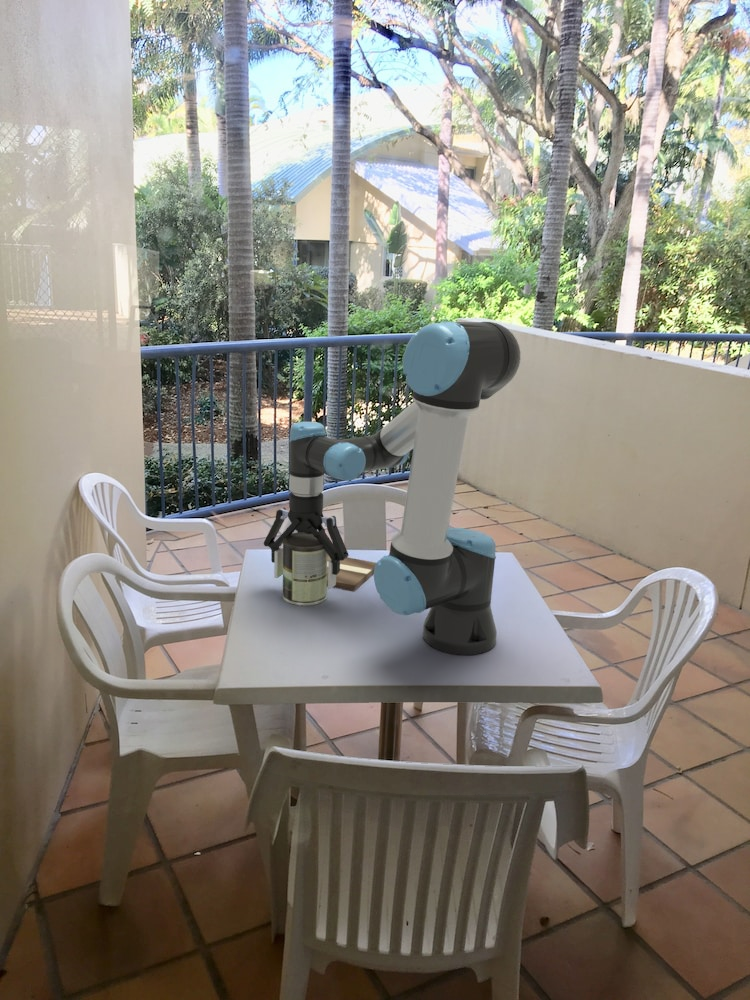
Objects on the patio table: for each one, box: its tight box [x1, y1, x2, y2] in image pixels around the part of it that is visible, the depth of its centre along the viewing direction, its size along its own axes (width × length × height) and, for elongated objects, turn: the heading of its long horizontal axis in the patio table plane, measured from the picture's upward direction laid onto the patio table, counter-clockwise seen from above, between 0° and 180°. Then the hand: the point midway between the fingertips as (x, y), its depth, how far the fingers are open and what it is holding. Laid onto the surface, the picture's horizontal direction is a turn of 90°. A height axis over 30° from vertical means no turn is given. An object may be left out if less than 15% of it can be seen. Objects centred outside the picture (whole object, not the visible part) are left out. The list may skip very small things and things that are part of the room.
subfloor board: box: [327, 555, 377, 592], centre depth 185 cm, size 16×18×2 cm
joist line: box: [327, 561, 371, 575], centre depth 186 cm, size 3×18×1 cm, turn 68°
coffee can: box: [282, 531, 328, 607], centre depth 169 cm, size 10×10×14 cm
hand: (304, 581), depth 170 cm, fingers open, 13 cm apart
